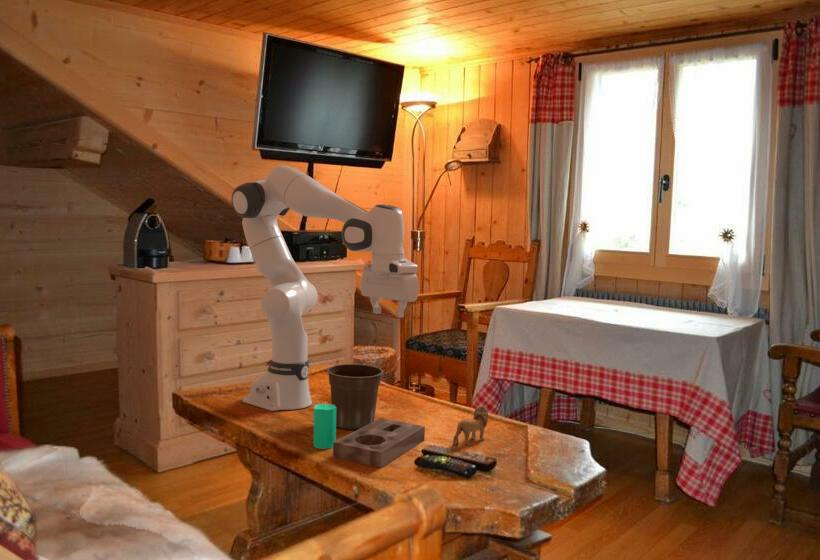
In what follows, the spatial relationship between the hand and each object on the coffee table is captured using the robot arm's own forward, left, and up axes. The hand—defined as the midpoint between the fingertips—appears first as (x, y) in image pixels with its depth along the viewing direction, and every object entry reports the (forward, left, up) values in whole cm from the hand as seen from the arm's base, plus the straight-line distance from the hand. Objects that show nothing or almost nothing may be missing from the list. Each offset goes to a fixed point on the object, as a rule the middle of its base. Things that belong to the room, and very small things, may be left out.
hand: (388, 315), depth 190 cm
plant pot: (-13, +5, -34) cm, 37 cm away
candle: (-10, -15, -34) cm, 39 cm away
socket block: (+4, -9, -34) cm, 36 cm away
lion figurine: (+22, +9, -34) cm, 42 cm away
